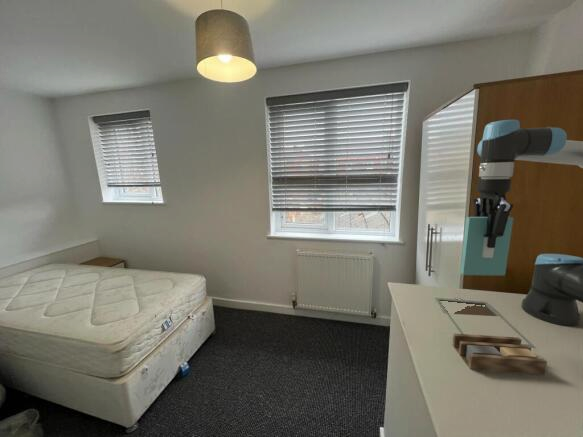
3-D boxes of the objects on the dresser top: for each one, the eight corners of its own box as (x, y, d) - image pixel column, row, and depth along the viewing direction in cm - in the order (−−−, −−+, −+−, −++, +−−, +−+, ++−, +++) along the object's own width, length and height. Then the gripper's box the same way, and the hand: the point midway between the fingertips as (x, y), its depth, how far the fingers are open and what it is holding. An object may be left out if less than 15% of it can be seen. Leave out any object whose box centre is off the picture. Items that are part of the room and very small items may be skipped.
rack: (516, 352, 74) (518, 337, 73) (543, 378, 64) (547, 361, 64) (451, 347, 76) (453, 333, 75) (469, 372, 67) (471, 356, 66)
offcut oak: (525, 361, 69) (527, 348, 68) (534, 369, 66) (537, 356, 65) (498, 359, 70) (500, 347, 69) (505, 367, 67) (508, 354, 66)
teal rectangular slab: (501, 273, 76) (509, 216, 73) (505, 275, 75) (513, 217, 71) (460, 272, 78) (466, 216, 74) (463, 274, 76) (469, 217, 73)
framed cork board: (465, 340, 78) (432, 294, 106) (464, 344, 78) (432, 297, 107) (537, 348, 74) (482, 298, 103) (536, 352, 74) (482, 301, 103)
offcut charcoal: (492, 359, 70) (494, 346, 69) (499, 367, 67) (501, 354, 66) (465, 357, 71) (467, 344, 70) (471, 365, 68) (473, 352, 67)
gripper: (465, 177, 78) (457, 248, 83) (499, 179, 64) (487, 264, 68) (490, 177, 77) (481, 248, 82) (530, 178, 63) (517, 265, 68)
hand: (484, 255), depth 75 cm, fingers closed on teal rectangular slab, 2 cm apart
